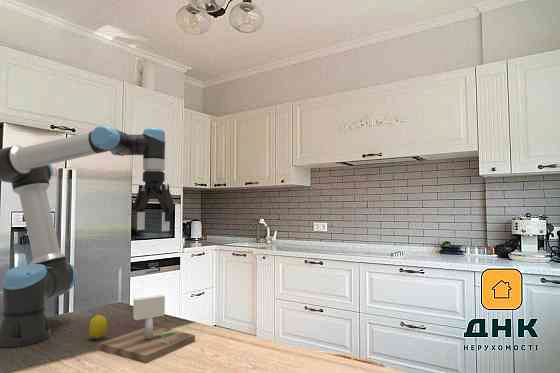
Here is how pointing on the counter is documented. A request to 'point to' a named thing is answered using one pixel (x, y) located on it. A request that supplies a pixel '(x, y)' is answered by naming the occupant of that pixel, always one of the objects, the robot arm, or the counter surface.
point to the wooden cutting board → (146, 344)
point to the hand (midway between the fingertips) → (152, 230)
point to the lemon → (98, 326)
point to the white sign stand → (149, 312)
